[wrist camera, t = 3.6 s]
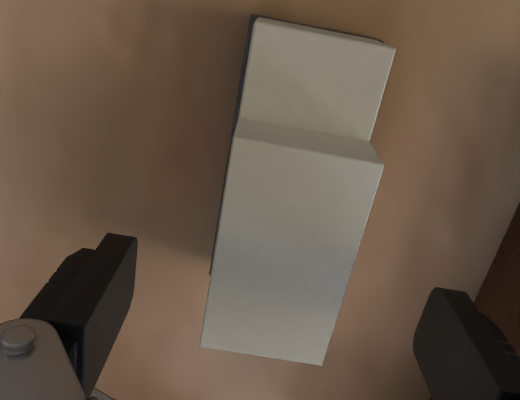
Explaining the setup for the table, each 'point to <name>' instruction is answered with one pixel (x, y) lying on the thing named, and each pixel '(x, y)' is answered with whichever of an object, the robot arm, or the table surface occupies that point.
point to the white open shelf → (99, 395)
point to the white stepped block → (294, 189)
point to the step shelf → (504, 286)
